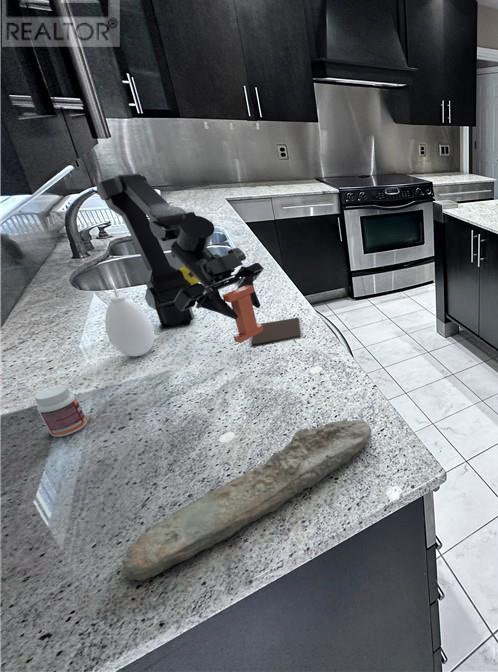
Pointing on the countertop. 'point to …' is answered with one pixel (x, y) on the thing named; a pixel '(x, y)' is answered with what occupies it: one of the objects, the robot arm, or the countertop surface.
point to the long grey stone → (245, 498)
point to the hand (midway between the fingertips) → (248, 312)
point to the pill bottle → (60, 411)
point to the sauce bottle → (128, 326)
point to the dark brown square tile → (277, 331)
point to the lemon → (186, 276)
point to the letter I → (243, 313)
